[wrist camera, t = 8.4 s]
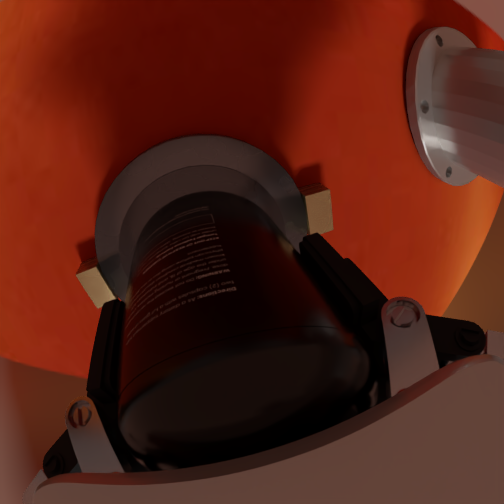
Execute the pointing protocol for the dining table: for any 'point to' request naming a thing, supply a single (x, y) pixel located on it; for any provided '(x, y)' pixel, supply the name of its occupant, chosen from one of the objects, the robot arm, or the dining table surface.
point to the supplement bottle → (230, 340)
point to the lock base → (190, 181)
